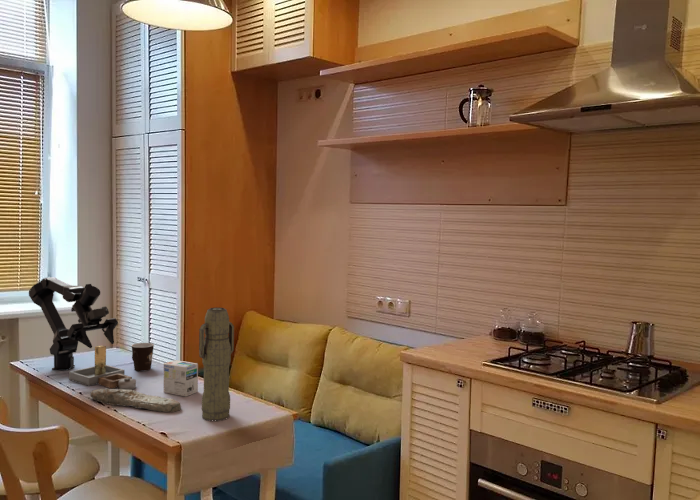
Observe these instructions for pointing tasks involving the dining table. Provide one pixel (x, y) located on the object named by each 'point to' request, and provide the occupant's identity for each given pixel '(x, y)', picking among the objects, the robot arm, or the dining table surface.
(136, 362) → the coffee mug
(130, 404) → the elongated rock
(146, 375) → the dining table surface
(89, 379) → the tray
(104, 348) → the pin
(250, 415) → the dining table surface
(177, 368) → the light bulb box
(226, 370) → the headless robed statue
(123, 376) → the brown frame
